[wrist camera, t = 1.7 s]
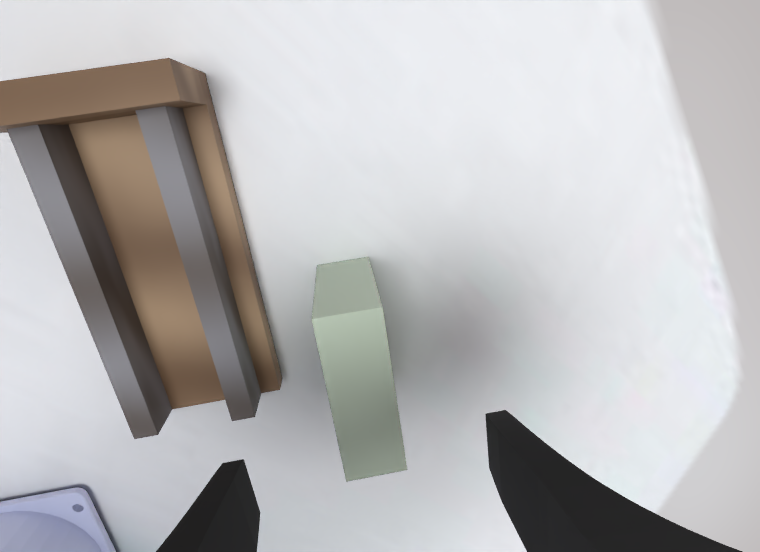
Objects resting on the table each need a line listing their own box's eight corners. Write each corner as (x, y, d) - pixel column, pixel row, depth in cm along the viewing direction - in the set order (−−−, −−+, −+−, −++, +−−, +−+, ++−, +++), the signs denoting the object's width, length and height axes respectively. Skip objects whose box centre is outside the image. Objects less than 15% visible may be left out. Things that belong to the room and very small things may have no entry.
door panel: (388, 383, 23) (407, 469, 17) (342, 392, 22) (346, 481, 17) (368, 256, 20) (382, 307, 15) (317, 264, 20) (311, 319, 14)
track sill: (282, 378, 22) (272, 431, 18) (140, 403, 21) (99, 463, 18) (204, 73, 17) (169, 58, 13) (20, 98, 17) (-71, 91, 13)
